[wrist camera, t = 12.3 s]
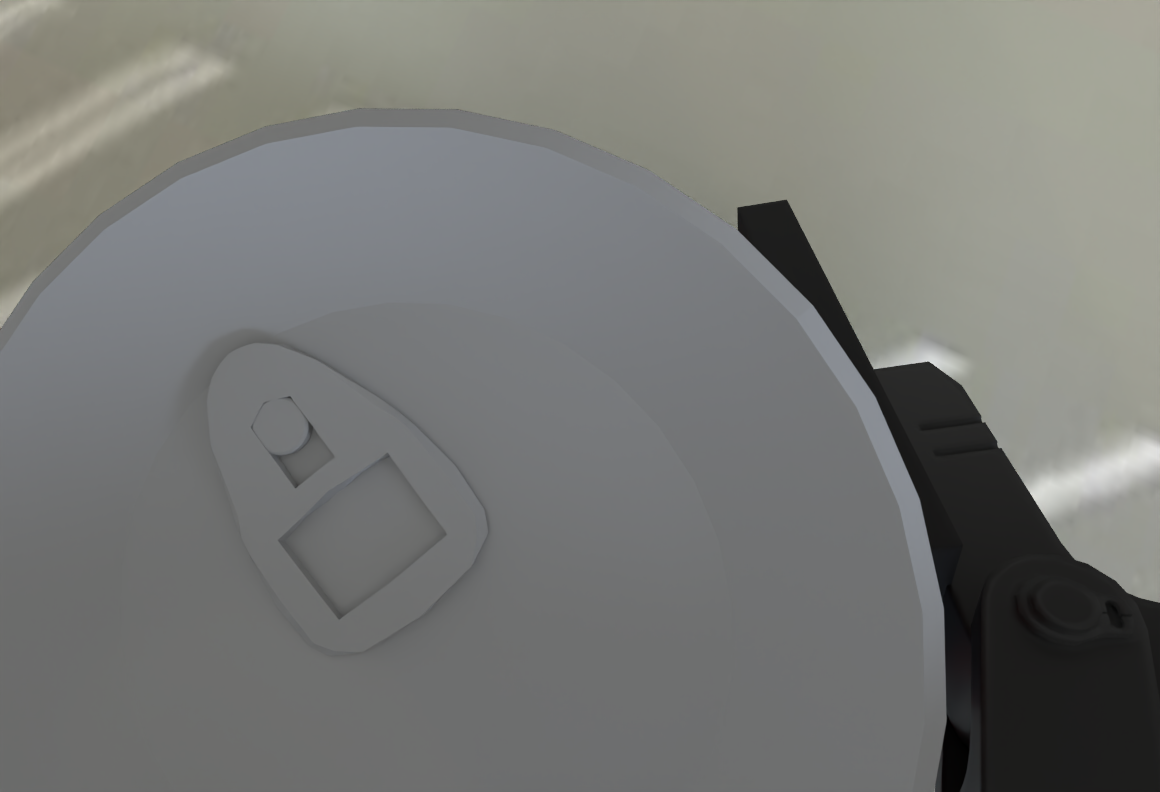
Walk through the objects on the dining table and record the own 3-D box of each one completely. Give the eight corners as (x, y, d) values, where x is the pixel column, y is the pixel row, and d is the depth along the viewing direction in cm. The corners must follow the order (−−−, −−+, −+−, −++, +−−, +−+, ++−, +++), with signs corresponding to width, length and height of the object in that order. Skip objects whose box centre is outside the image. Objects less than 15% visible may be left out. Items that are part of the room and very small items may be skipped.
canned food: (518, 248, 17) (284, -101, 6) (821, 466, 16) (1212, 538, 5) (313, 529, 17) (-300, 711, 6) (605, 758, 16) (527, 1459, 5)
